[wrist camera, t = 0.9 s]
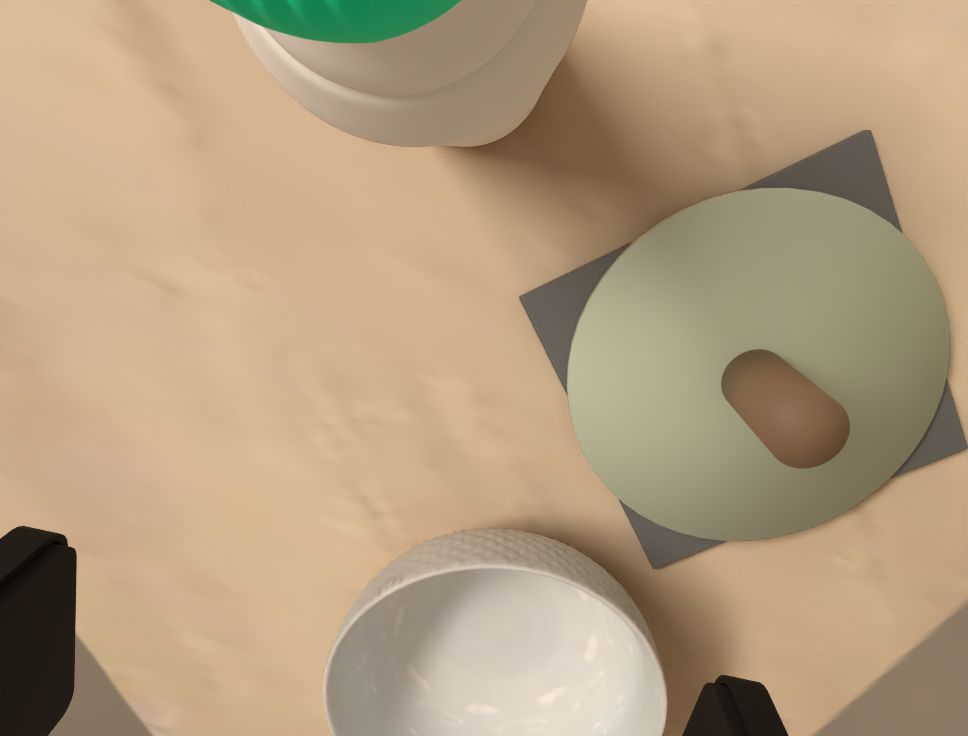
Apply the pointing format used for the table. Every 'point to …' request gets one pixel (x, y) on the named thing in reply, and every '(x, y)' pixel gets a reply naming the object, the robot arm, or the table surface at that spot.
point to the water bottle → (412, 62)
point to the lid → (757, 363)
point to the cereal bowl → (494, 646)
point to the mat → (830, 171)
